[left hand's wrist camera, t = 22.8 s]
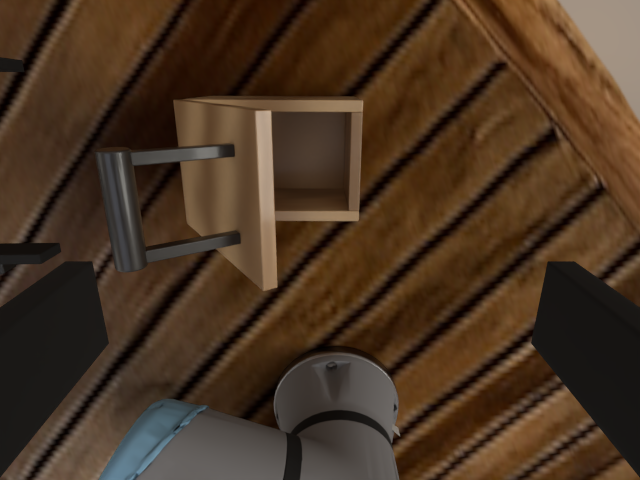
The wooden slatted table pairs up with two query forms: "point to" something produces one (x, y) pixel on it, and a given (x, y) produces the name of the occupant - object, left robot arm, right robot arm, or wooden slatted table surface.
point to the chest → (312, 154)
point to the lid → (202, 190)
